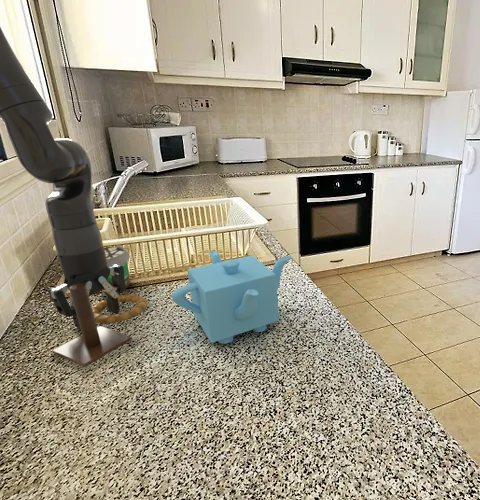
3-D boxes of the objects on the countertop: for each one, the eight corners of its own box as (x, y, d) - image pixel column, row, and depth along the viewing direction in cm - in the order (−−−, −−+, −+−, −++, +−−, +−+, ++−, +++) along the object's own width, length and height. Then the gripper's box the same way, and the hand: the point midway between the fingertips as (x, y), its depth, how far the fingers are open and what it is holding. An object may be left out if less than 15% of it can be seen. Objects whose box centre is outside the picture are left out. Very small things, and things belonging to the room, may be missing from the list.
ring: (77, 319, 80) (75, 311, 79) (124, 296, 89) (123, 289, 89) (113, 331, 76) (111, 323, 75) (158, 307, 85) (156, 299, 85)
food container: (132, 298, 89) (123, 259, 85) (102, 302, 87) (92, 262, 83) (138, 276, 99) (131, 241, 96) (111, 280, 97) (103, 244, 94)
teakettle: (171, 346, 72) (159, 277, 66) (217, 299, 89) (211, 241, 84) (265, 357, 70) (261, 287, 64) (294, 307, 87) (292, 248, 81)
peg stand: (54, 357, 68) (32, 291, 63) (101, 331, 76) (86, 271, 71) (86, 371, 65) (67, 303, 60) (133, 343, 73) (119, 280, 68)
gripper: (102, 232, 80) (118, 301, 86) (26, 255, 68) (51, 334, 74) (127, 238, 77) (141, 308, 83) (52, 263, 65) (75, 343, 71)
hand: (99, 320), depth 79 cm, fingers open, 6 cm apart
